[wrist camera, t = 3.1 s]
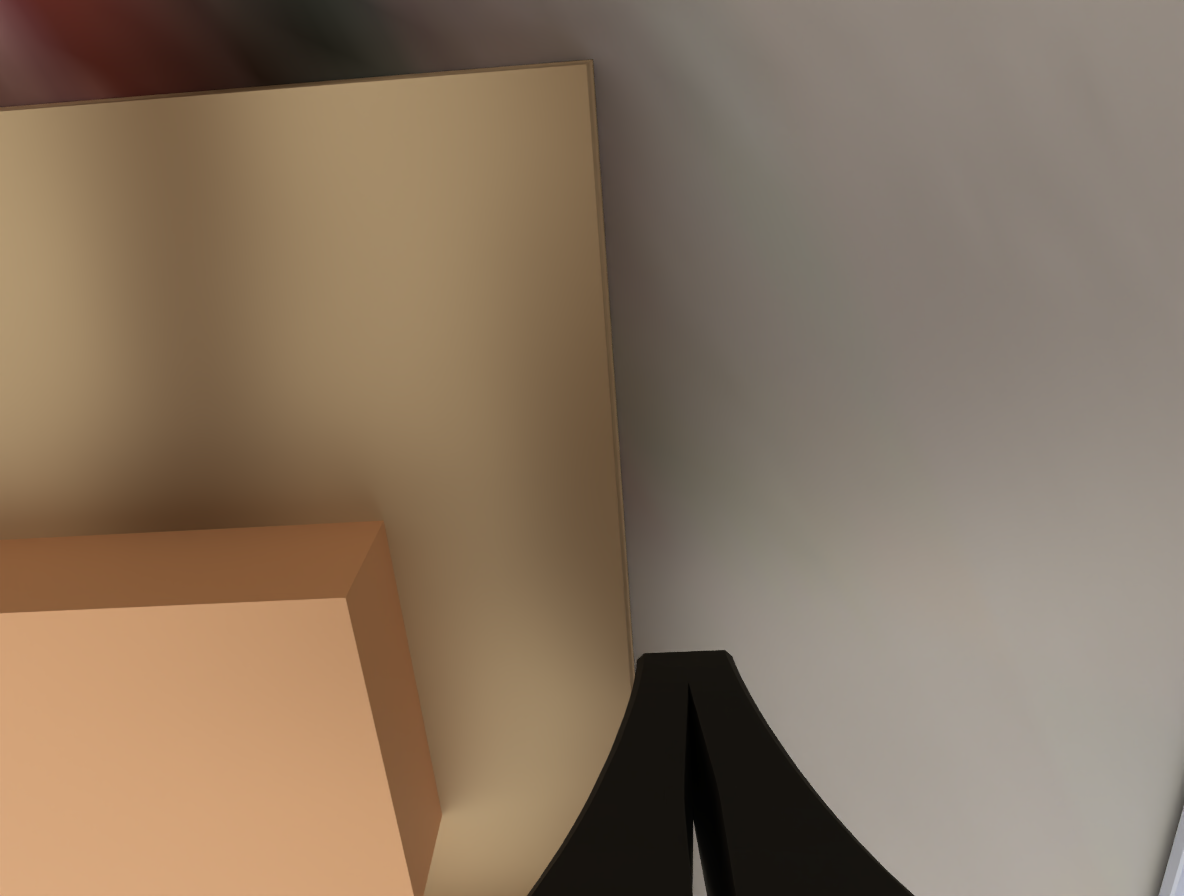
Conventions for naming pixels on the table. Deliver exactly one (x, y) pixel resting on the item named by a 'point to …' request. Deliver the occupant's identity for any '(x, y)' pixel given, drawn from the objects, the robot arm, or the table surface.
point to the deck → (350, 385)
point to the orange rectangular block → (210, 716)
